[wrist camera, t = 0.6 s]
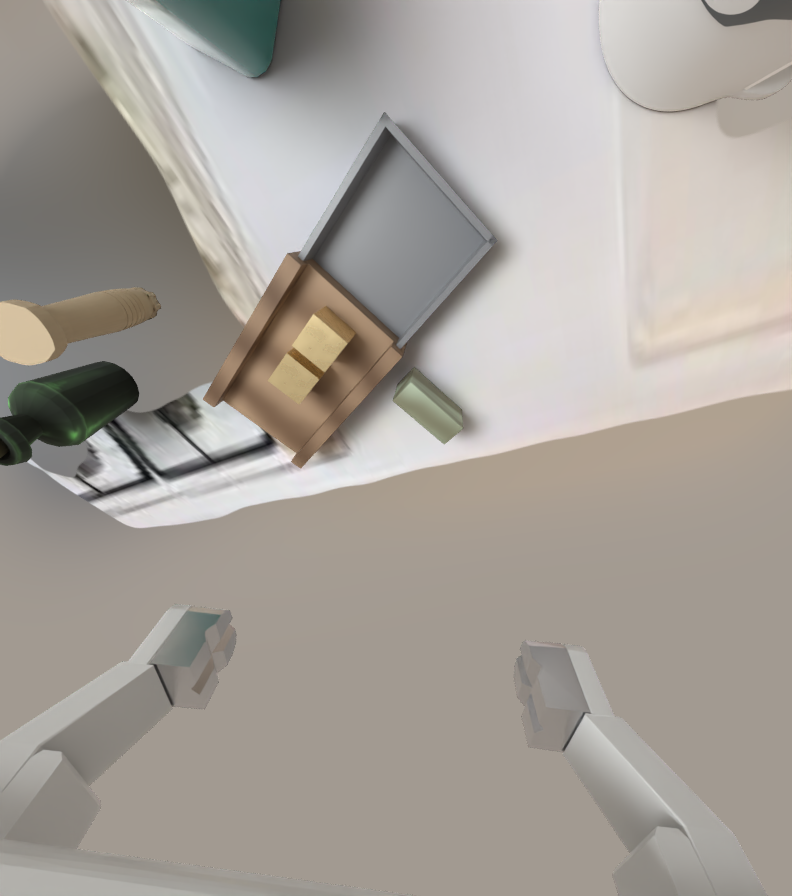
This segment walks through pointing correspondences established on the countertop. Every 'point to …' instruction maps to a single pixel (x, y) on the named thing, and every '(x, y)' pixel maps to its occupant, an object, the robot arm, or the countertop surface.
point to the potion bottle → (64, 408)
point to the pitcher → (221, 28)
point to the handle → (69, 322)
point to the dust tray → (397, 233)
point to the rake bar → (428, 406)
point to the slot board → (273, 335)
